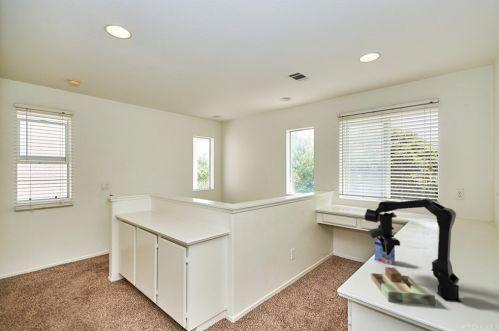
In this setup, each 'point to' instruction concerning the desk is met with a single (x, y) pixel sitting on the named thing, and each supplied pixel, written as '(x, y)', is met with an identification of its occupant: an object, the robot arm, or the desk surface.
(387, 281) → the trap board
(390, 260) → the ink cartridge box
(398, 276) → the walnut brick
